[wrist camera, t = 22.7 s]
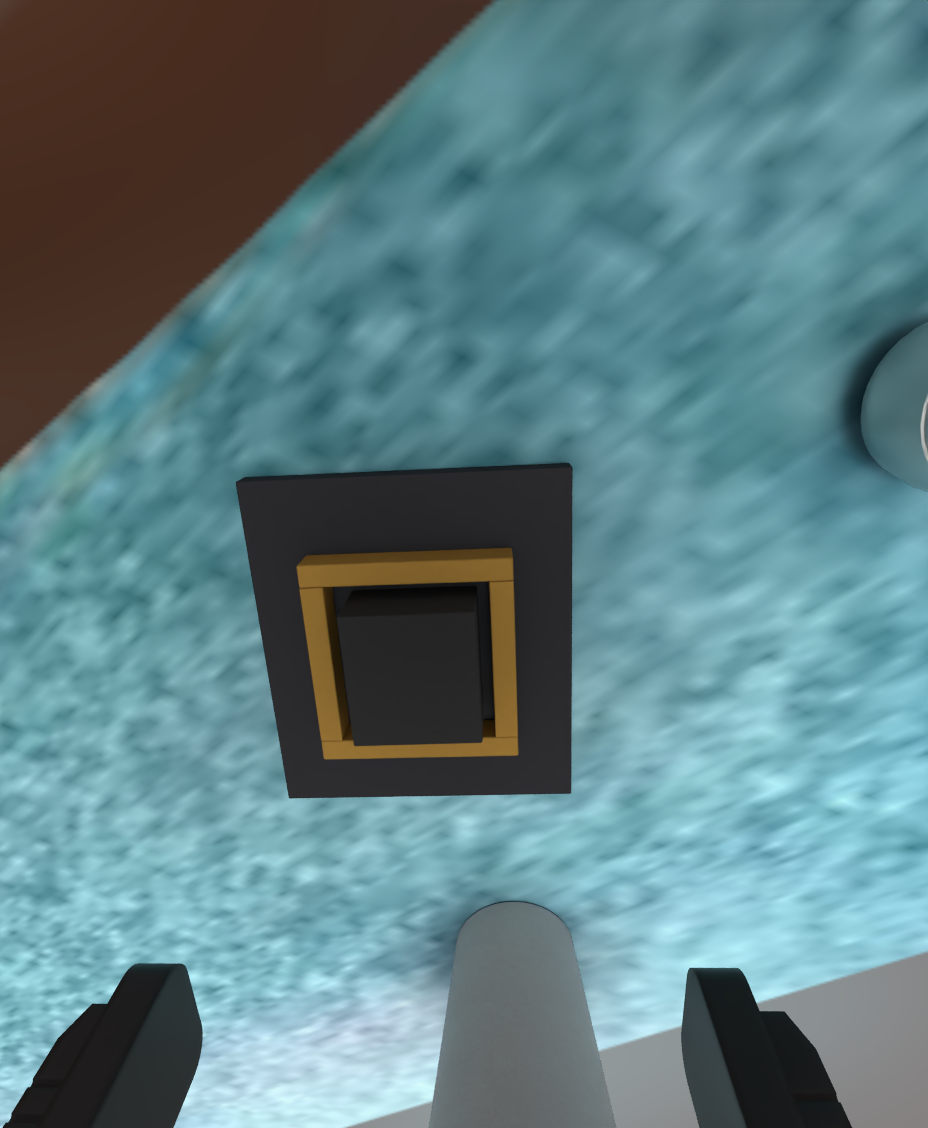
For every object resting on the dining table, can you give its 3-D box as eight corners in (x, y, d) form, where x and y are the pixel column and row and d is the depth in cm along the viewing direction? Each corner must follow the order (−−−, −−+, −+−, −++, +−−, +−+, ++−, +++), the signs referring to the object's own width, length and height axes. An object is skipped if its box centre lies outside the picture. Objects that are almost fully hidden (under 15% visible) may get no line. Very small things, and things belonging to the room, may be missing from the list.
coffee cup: (397, 957, 36) (335, 1355, 22) (495, 850, 33) (499, 1225, 19) (531, 1030, 37) (556, 1449, 23) (636, 934, 35) (737, 1340, 20)
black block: (351, 589, 28) (336, 617, 25) (476, 584, 27) (475, 612, 24) (366, 709, 29) (353, 747, 27) (483, 705, 29) (482, 743, 26)
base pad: (244, 477, 27) (220, 489, 25) (569, 462, 26) (577, 473, 24) (294, 785, 32) (279, 819, 30) (568, 780, 32) (575, 815, 29)
